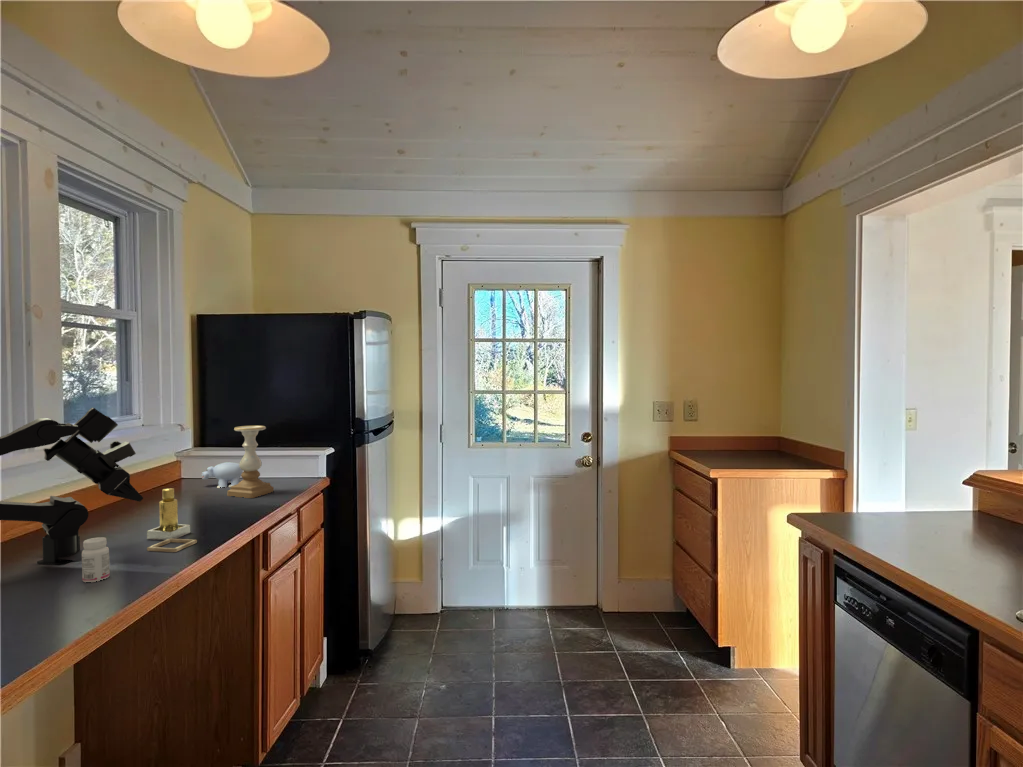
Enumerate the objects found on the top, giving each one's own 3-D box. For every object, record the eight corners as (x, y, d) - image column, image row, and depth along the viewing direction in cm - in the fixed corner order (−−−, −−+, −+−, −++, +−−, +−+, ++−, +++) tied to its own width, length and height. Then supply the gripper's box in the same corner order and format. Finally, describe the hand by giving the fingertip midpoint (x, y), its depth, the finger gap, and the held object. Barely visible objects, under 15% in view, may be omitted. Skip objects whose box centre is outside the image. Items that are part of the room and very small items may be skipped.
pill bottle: (105, 573, 126) (104, 535, 126) (112, 578, 123) (112, 539, 123) (79, 579, 122) (78, 540, 122) (85, 584, 119) (85, 544, 119)
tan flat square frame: (175, 558, 136) (175, 549, 136) (146, 556, 137) (146, 547, 137) (197, 548, 143) (197, 539, 143) (170, 547, 144) (169, 538, 144)
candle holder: (249, 489, 211) (249, 424, 210) (274, 491, 208) (273, 425, 207) (226, 496, 201) (225, 427, 200) (252, 498, 197) (251, 429, 196)
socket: (171, 546, 145) (171, 532, 145) (146, 544, 146) (146, 531, 146) (190, 537, 152) (190, 524, 152) (166, 536, 153) (166, 523, 153)
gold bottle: (170, 538, 147) (169, 491, 146) (156, 537, 147) (155, 490, 147) (181, 533, 151) (180, 488, 150) (167, 532, 151) (167, 487, 151)
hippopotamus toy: (203, 484, 221) (202, 459, 221) (246, 481, 227) (245, 457, 227) (200, 490, 211) (199, 464, 211) (245, 486, 217) (244, 461, 217)
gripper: (117, 435, 133) (172, 476, 141) (105, 428, 147) (156, 466, 155) (75, 473, 128) (134, 514, 136) (67, 462, 142) (122, 500, 150)
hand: (138, 496), depth 144 cm, fingers open, 9 cm apart
